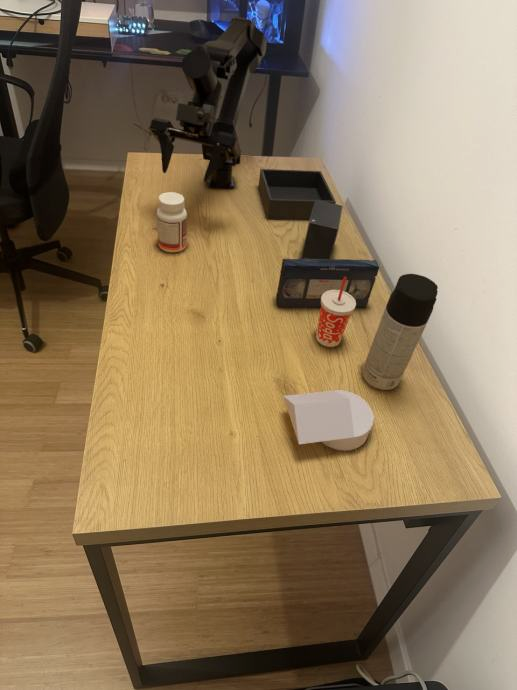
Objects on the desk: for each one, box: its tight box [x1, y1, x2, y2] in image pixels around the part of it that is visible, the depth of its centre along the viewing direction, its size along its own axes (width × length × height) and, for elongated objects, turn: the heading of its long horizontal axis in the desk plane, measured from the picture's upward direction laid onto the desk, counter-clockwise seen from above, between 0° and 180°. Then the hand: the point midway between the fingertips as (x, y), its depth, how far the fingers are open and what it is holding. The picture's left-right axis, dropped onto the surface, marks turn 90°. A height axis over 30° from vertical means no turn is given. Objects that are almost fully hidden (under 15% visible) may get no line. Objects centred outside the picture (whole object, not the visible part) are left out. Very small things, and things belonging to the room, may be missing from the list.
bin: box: [257, 168, 337, 221], centre depth 127 cm, size 16×16×5 cm
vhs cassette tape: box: [275, 258, 380, 308], centre depth 96 cm, size 18×3×10 cm, turn 95°
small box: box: [300, 200, 344, 260], centre depth 109 cm, size 11×6×10 cm, turn 167°
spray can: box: [361, 273, 439, 391], centre depth 80 cm, size 7×7×20 cm
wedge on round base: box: [282, 389, 375, 452], centre depth 76 cm, size 9×7×13 cm
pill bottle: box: [156, 191, 188, 253], centre depth 105 cm, size 6×6×11 cm
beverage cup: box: [315, 276, 356, 348], centre depth 88 cm, size 6×6×14 cm
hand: (184, 177), depth 105 cm, fingers open, 9 cm apart
